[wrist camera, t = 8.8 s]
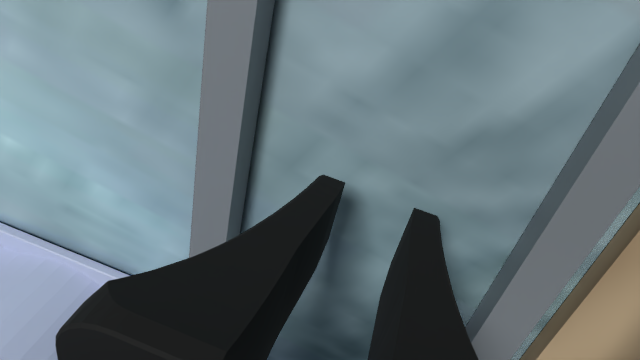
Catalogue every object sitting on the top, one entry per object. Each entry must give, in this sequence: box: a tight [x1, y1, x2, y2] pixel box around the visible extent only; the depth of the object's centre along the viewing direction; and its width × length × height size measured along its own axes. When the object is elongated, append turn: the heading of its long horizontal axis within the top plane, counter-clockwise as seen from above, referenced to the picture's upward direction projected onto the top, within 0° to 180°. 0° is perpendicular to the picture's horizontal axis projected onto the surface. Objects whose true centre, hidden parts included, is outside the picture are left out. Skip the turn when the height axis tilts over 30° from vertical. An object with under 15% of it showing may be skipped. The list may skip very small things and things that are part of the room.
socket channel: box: [189, 0, 640, 360], centre depth 14 cm, size 10×18×1 cm, turn 169°
